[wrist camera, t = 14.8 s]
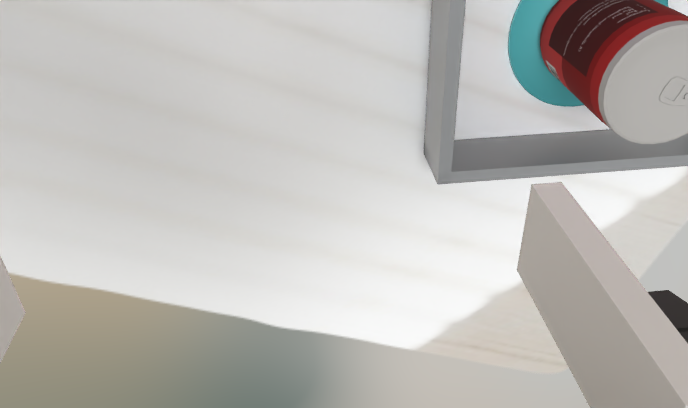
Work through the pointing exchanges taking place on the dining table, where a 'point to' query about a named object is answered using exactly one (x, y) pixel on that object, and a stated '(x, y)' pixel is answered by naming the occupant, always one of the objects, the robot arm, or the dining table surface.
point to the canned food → (622, 64)
